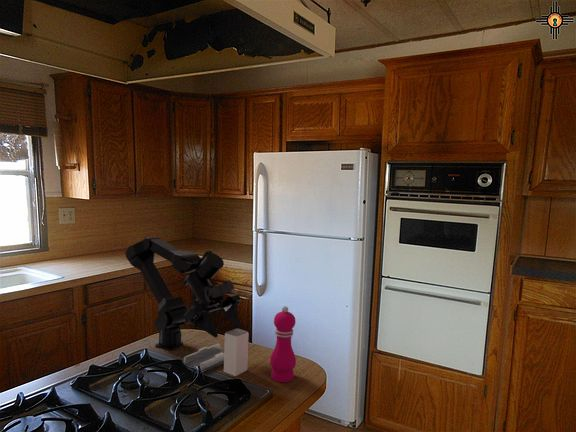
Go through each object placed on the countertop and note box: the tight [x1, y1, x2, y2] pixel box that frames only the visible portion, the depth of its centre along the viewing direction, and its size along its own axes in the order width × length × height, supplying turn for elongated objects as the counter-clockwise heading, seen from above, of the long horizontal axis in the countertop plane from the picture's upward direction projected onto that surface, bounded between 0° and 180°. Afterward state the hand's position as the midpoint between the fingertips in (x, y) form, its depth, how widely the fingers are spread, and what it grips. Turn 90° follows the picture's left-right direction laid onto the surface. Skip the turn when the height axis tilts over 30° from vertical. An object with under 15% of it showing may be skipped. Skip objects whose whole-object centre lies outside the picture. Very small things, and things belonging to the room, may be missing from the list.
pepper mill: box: [269, 305, 297, 383], centre depth 108 cm, size 7×7×20 cm
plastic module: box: [223, 327, 249, 377], centre depth 112 cm, size 4×5×11 cm
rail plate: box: [182, 342, 224, 371], centre depth 117 cm, size 8×14×3 cm, turn 145°
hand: (228, 332), depth 113 cm, fingers open, 9 cm apart
